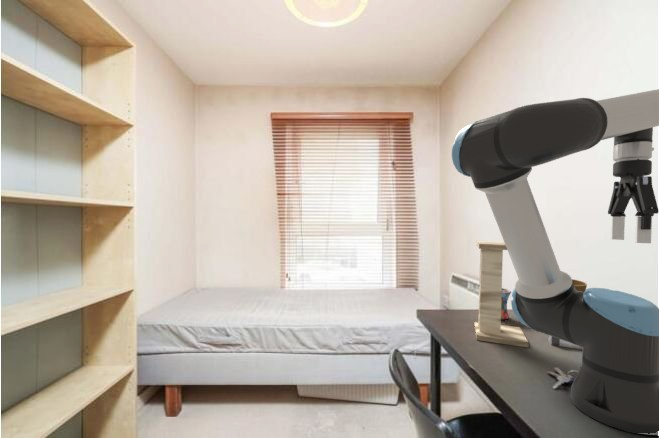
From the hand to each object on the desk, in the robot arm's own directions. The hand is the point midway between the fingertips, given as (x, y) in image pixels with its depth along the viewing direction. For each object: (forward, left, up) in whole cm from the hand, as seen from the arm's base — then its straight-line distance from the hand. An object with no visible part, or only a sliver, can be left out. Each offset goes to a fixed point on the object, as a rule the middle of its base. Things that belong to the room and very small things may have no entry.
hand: (629, 241), depth 86 cm
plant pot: (+31, +7, -33) cm, 46 cm away
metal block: (+9, +4, -33) cm, 34 cm away
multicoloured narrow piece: (+32, +27, -33) cm, 53 cm away
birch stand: (+9, +29, -33) cm, 45 cm away
